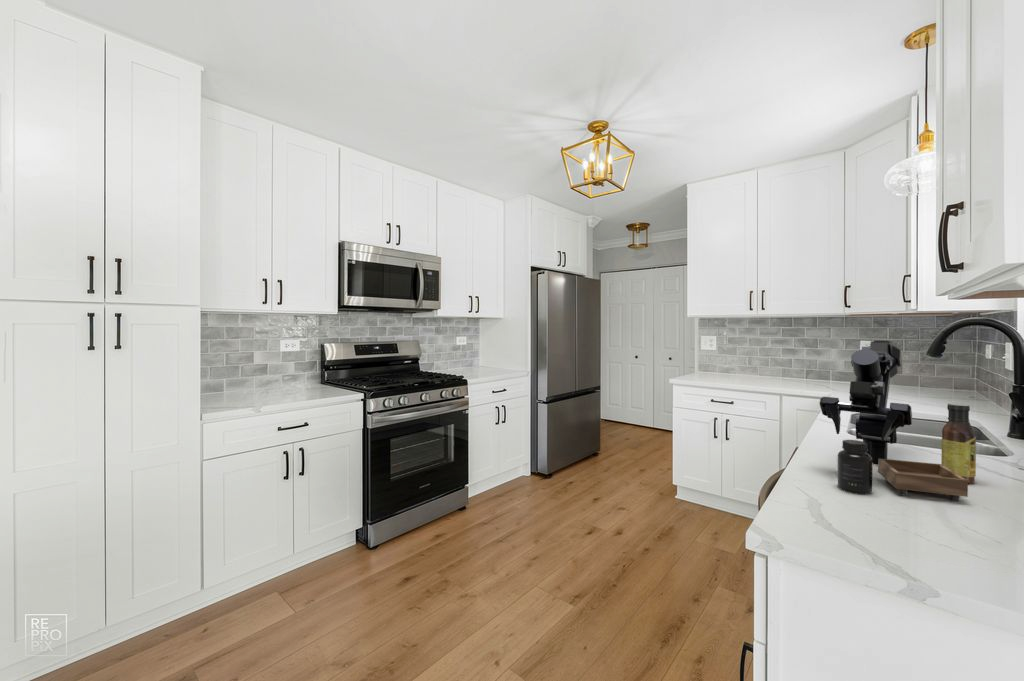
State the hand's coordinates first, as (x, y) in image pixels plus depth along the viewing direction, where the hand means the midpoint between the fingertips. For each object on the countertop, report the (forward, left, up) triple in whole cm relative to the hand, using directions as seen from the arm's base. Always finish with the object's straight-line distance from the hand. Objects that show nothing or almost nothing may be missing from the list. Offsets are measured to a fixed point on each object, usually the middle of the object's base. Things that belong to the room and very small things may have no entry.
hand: (859, 436), depth 112 cm
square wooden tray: (+1, +12, -12) cm, 17 cm away
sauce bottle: (-12, +24, -12) cm, 29 cm away
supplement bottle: (+6, -2, -12) cm, 14 cm away
